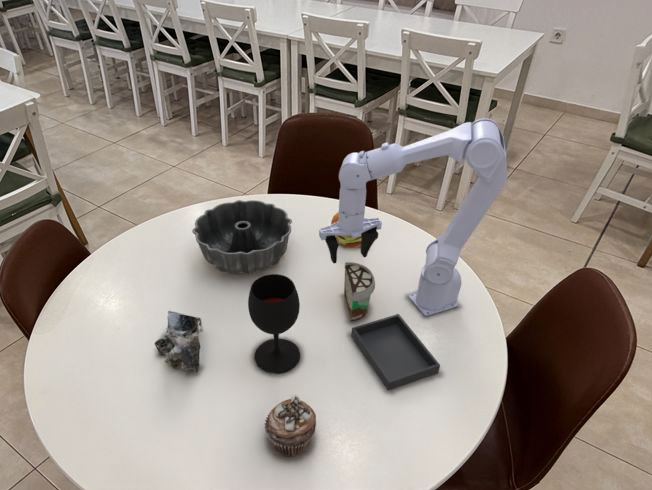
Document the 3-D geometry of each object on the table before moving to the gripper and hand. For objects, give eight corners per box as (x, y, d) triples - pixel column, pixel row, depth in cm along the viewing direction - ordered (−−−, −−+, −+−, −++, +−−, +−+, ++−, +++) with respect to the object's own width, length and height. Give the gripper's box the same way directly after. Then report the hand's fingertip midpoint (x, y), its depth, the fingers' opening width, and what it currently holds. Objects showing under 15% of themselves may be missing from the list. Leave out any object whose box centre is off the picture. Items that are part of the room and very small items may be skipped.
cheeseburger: (369, 252, 138) (362, 221, 131) (332, 254, 142) (324, 224, 136) (374, 231, 145) (369, 201, 138) (339, 234, 149) (332, 205, 142)
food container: (377, 324, 117) (381, 292, 110) (351, 326, 117) (353, 294, 110) (366, 290, 126) (370, 259, 119) (342, 292, 126) (344, 260, 119)
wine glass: (266, 380, 106) (259, 312, 92) (246, 349, 113) (237, 281, 99) (308, 362, 109) (308, 294, 95) (287, 333, 116) (284, 265, 102)
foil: (219, 316, 116) (194, 329, 101) (214, 360, 118) (188, 379, 104) (173, 307, 118) (142, 318, 103) (168, 350, 120) (137, 367, 106)
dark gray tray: (397, 321, 118) (398, 313, 116) (438, 373, 106) (440, 365, 104) (351, 336, 115) (351, 327, 113) (387, 390, 103) (389, 382, 101)
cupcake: (291, 409, 100) (290, 377, 93) (326, 439, 95) (327, 408, 88) (255, 438, 96) (251, 407, 89) (289, 471, 91) (288, 440, 84)
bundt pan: (264, 219, 152) (262, 189, 145) (311, 263, 135) (311, 232, 128) (184, 247, 142) (177, 217, 135) (223, 298, 126) (218, 266, 119)
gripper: (326, 223, 106) (325, 273, 115) (389, 212, 108) (383, 261, 118) (316, 207, 111) (315, 256, 120) (376, 196, 113) (371, 245, 123)
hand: (348, 257), depth 119 cm, fingers open, 7 cm apart
